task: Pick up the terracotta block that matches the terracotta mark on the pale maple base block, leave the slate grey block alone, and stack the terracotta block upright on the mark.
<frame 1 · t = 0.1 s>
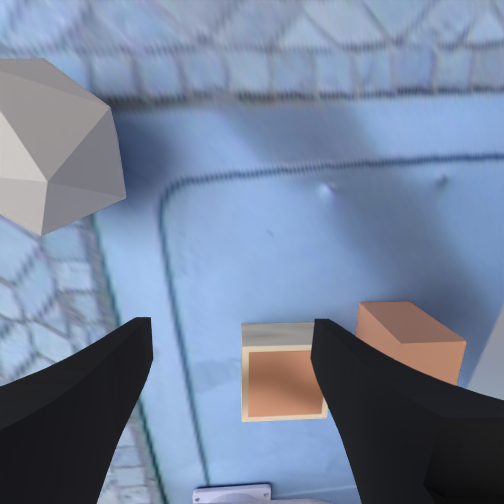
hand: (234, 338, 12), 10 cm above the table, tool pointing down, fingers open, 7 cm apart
die: (82, 155, 19), on the table
maple base: (279, 355, 24), on the table
terracotta block: (380, 324, 24), on the table
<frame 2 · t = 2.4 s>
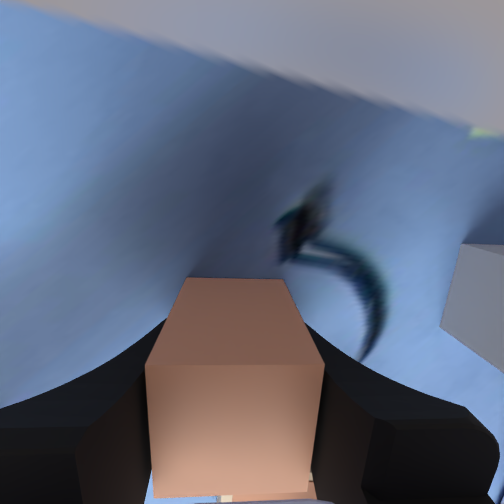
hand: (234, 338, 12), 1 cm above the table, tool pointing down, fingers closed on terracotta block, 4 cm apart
grey block: (489, 287, 14), on the table
maple base: (279, 454, 16), on the table
terracotta block: (234, 321, 13), on the table, touching gripper
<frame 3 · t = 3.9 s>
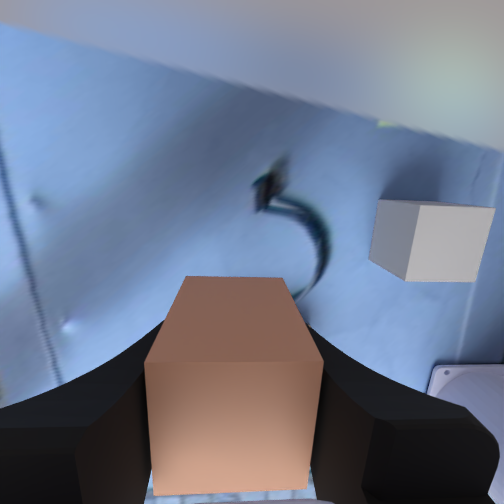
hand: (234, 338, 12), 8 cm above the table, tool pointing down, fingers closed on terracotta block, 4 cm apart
grey block: (401, 230, 20), on the table
terracotta block: (233, 320, 13), point 7 cm above the table, touching gripper
when the fingers open (6 cm above the table, at t = 5.7 s): terracotta block drops 2 cm, resting on maple base.
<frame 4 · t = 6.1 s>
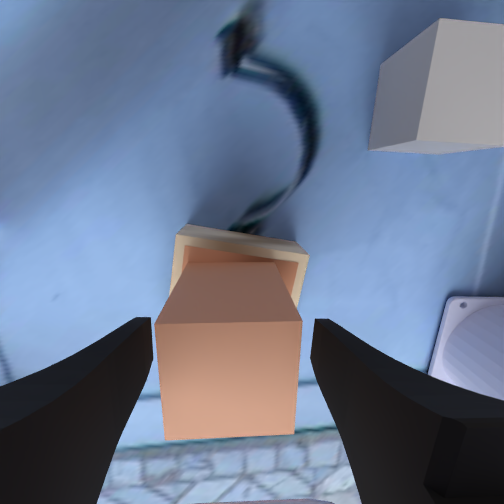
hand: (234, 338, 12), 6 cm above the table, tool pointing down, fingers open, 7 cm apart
grey block: (410, 111, 16), on the table
maple base: (233, 282, 18), on the table, touching terracotta block
terracotta block: (231, 301, 14), point 3 cm above the table, touching maple base
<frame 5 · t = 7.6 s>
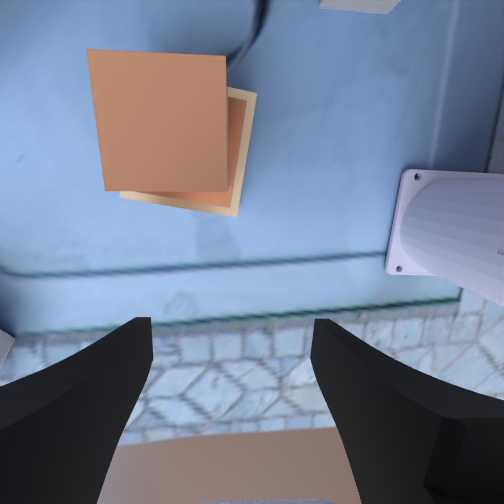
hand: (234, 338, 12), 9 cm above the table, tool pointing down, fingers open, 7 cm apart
maple base: (194, 152, 19), on the table, touching terracotta block
terracotta block: (188, 145, 15), point 3 cm above the table, touching maple base
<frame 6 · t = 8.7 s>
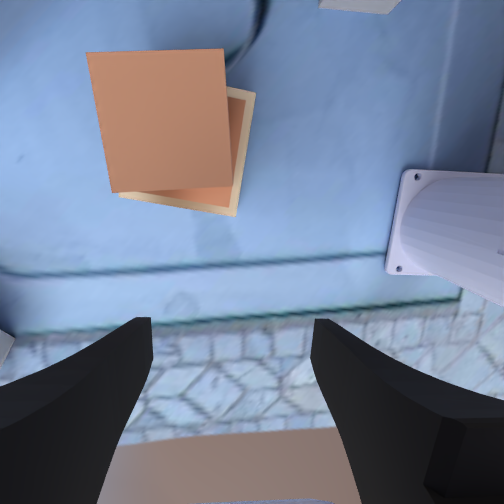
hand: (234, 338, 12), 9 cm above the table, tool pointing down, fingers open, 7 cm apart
maple base: (194, 152, 19), on the table
terracotta block: (191, 145, 15), point 3 cm above the table
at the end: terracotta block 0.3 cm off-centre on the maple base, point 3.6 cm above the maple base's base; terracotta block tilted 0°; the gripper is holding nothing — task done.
